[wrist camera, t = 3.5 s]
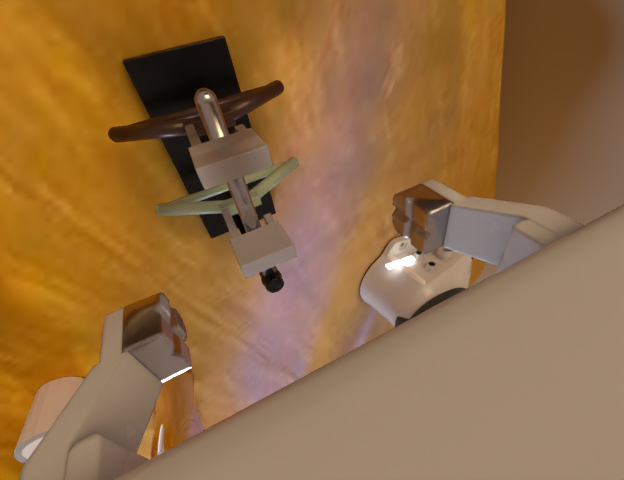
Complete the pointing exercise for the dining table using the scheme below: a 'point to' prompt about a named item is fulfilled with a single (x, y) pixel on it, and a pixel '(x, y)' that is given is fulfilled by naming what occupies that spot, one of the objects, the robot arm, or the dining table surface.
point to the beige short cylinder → (44, 413)
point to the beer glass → (175, 414)
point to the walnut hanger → (219, 152)
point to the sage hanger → (252, 245)
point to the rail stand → (203, 94)
